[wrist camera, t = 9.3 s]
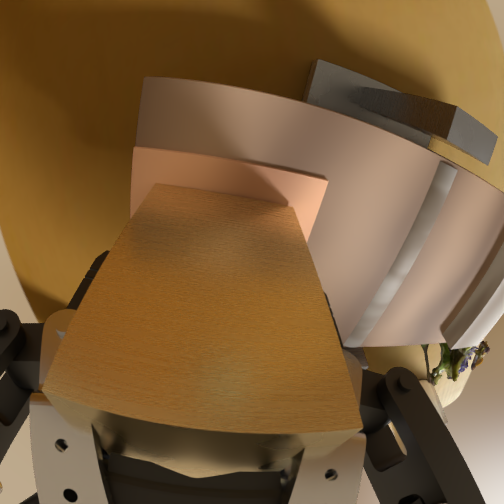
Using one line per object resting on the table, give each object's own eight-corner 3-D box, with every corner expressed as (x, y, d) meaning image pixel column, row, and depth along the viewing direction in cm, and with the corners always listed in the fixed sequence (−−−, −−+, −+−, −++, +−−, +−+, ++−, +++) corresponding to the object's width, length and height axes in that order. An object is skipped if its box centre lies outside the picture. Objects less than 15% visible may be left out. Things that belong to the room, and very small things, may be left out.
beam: (523, 206, 14) (554, 232, 11) (454, 322, 20) (472, 353, 17) (159, 76, 9) (129, 77, 6) (144, 300, 16) (131, 351, 13)
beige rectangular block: (293, 206, 10) (363, 427, 4) (260, 305, 13) (275, 484, 6) (155, 182, 10) (41, 389, 3) (151, 289, 12) (105, 464, 6)
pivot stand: (428, 109, 17) (533, 152, 8) (353, 287, 27) (391, 382, 18) (312, 60, 16) (389, 46, 7) (253, 273, 25) (260, 383, 16)
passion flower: (437, 287, 35) (461, 360, 31) (379, 314, 35) (405, 395, 30) (484, 260, 25) (513, 352, 21) (421, 293, 24) (454, 401, 20)
